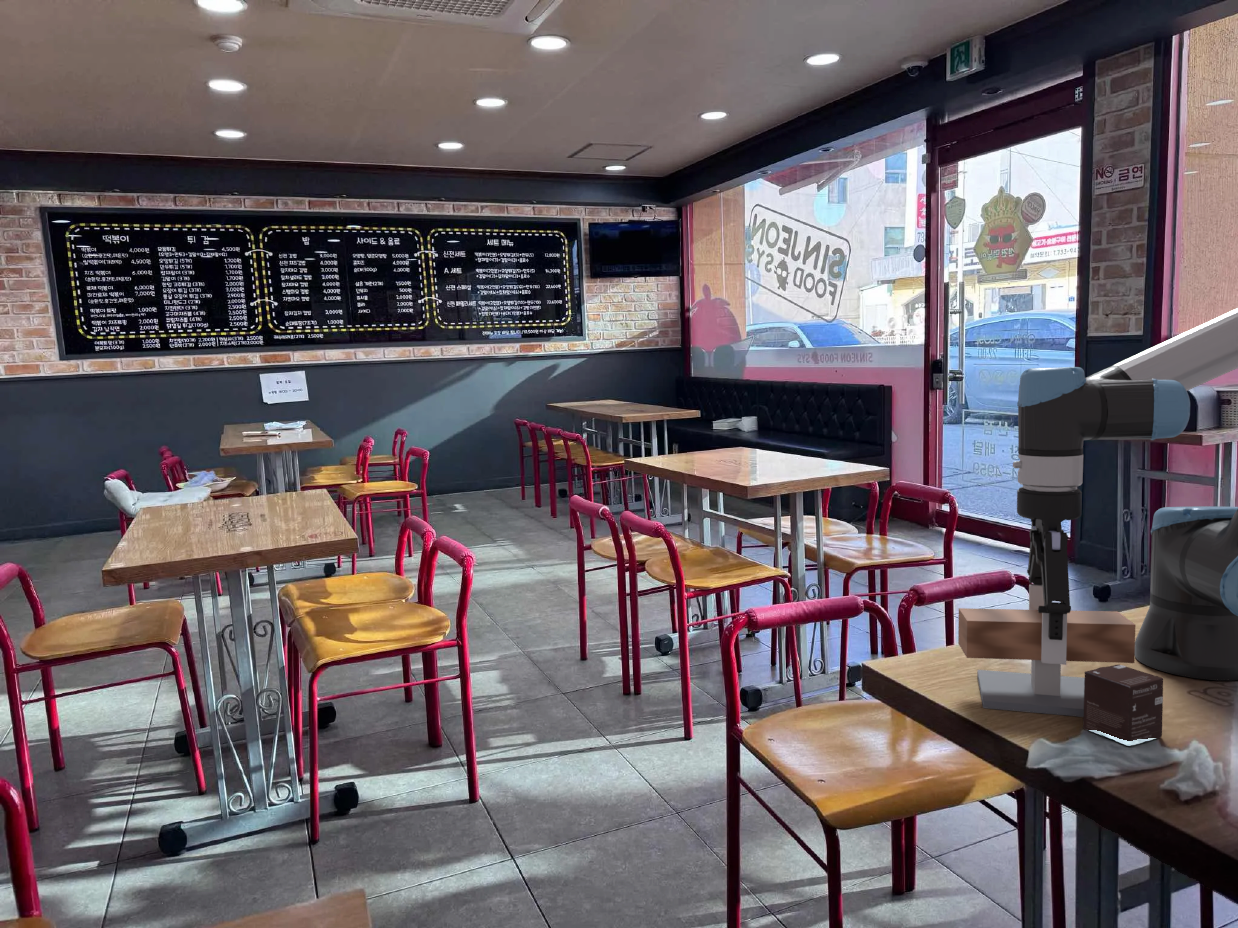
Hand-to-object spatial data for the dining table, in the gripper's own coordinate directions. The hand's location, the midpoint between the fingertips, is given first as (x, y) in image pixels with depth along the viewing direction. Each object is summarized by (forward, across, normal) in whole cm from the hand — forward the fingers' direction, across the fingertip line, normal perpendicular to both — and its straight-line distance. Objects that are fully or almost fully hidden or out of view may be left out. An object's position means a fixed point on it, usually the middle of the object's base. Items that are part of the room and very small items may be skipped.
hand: (1046, 646), depth 114 cm
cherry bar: (+1, 0, 0) cm, 1 cm away
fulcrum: (+7, 0, 0) cm, 7 cm away
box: (+7, +10, +7) cm, 14 cm away
